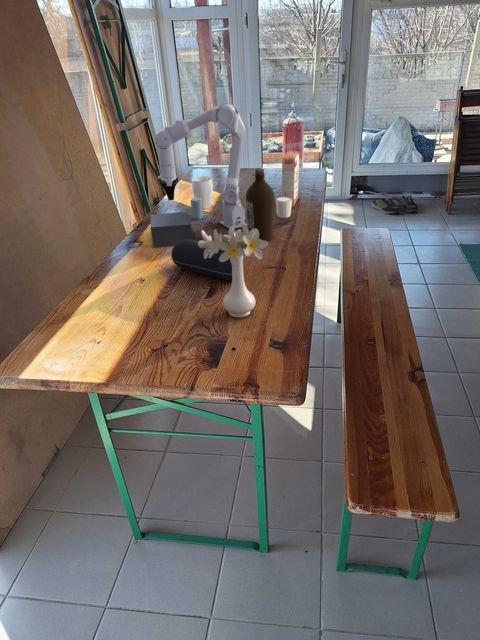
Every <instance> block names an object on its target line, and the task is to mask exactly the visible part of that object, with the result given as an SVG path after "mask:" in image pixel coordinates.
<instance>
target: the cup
mask: <svg viewBox="0 0 480 640" xmlns="http://www.w3.org/2000/svg"><path fill="white" fill-rule="evenodd" d="M213 188H214V185H213V179H212V177H210V176H195V177H193V178H192V179H191V189H192V193H193V198H195V197H198V198H201V202H202V210H206V209H210V208H211V207H212V202H213Z"/></svg>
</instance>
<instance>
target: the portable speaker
mask: <svg viewBox="0 0 480 640" xmlns="http://www.w3.org/2000/svg"><path fill="white" fill-rule="evenodd" d="M199 241H200V240H197V239H196V240H195V239H193V240H190V239H186V240H181V241H179V242H177V243H176V244H175V245H174V246H172V249H171V255H170V256H171V261H172V262H173V264H174V265H175V266H177V268H180V269H182V270H185V271H189V272H194V273H197V274H201V275H205V276H208V277H212V278H216V279H219V280H220V279H221V280H224V281H232V264H231V261H230V258H231V257H230V258H229V259H228V260H227V261H225V262H220V261H219V257H220V256H221V254H222V253H224V252H226V251H223V250H222V249H219V251H218V253H214V254H213V256H212V257H211V258H209V254H210V252H209V254H208V256H207V258H206V259H204V251H205V249H206V248H200V247H199V246H198V242H199ZM213 249H215V248H213ZM244 261H245V260H244V258H243V265H244V263H245V262H244Z"/></svg>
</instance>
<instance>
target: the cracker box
mask: <svg viewBox="0 0 480 640" xmlns="http://www.w3.org/2000/svg"><path fill="white" fill-rule="evenodd" d="M300 152H301V151H295V150H294V151H292V150H291V151H289V150H288V151H286V152H285V154H284V156H283V157H282V158H281V159H282V160H281V197H289V198H291V199H292V205H291V208H294V207H295V205H296V203H297V201H298V199H299V177H300V155H301V154H300Z"/></svg>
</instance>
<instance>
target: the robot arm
mask: <svg viewBox="0 0 480 640" xmlns="http://www.w3.org/2000/svg"><path fill="white" fill-rule="evenodd" d="M210 122H211V123H216V124H217V123H218V122H219V123H220V124H221V125H222V126H224V127H225V128H226V129H227V130H229V132H230V133H231V135H232V136H231V137H232V138H231V146H230V154H229V161H228V167H227V168H228V169H227V177H226V182H225V185H224V186H223V192H222V194H221V195H222V197H221V198H222V203H221V204H222V217H223V218H222V220H220V221H219V224H221V225H223V226H224V227H226V228H227V229H228V230H229V229H230V228H231V227H232V226H233V227H234V229H238V228H242V224H245V225H246V227H248V223H247V222H246V210H245V208H244V207H243V205H242V203H241V199H240V196H239V193H240V187H239V179H240V172H241V165H242V157H243V152H244V144H245V137H246V127H245V125H244V122H243V120H242V118H241V115H240V112H239V110H238V109H237V108H236V107H235V106H234V105H233V104H232V103H230V102H224V103H222V104H221V105H220V104H219V105H215V106H213V107H211V108H209V109H207V110H205V111H204V112H202V113H199V114H198V115H196V116H194V117H193V118H191V119H189V120H184V119H177V120H175V123H173V124H171V125H169V126H167V125H166V126H164V128H163V129H160V130H159V131H158V132H157V133H156V134H155V137H154V142H155V145H156V147H157V157H158V165H159V172H160V175H158V176H157V179H159V180H161V185H162V187H163V189H164V191H165V194H166V197H167V200H168V201H174V200H175V190H176V187H177V174H176V166H175V164H176V163H175V156H174V150H173V144H172V143H177V142H179V141H180V140H184V139H185V138H187V137H189V136H190V135H191V131H192V130H194V129H196V128H198V127H201V126H203V125H205V124H207V123H210Z"/></svg>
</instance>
